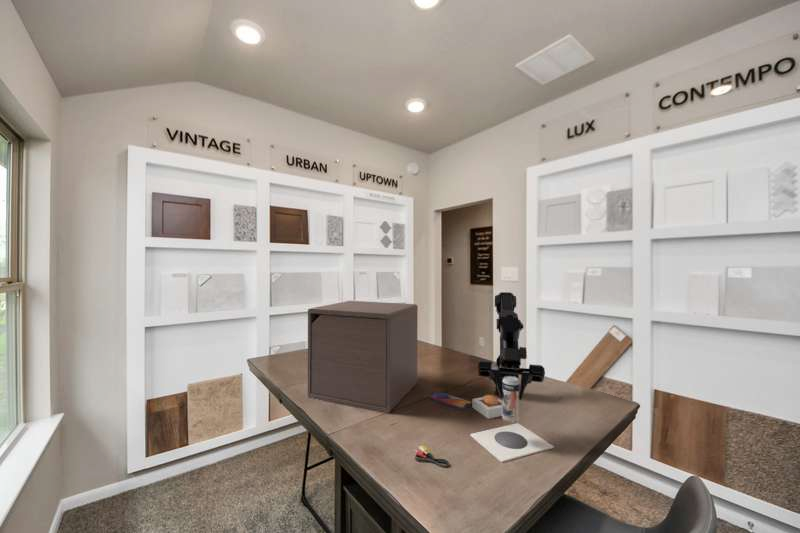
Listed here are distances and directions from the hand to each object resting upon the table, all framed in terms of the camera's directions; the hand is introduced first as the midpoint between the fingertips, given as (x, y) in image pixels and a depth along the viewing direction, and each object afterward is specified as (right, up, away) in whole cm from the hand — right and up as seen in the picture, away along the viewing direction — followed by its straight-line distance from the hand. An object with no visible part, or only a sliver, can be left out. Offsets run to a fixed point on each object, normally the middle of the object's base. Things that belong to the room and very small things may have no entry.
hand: (511, 398), depth 91 cm
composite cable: (-24, -13, -8) cm, 28 cm away
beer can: (0, -7, +1) cm, 7 cm away
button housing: (0, -13, +21) cm, 24 cm away
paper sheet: (0, -13, +1) cm, 13 cm away
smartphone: (-13, -13, +28) cm, 34 cm away
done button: (0, -10, +21) cm, 23 cm away
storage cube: (-46, -13, +38) cm, 61 cm away
